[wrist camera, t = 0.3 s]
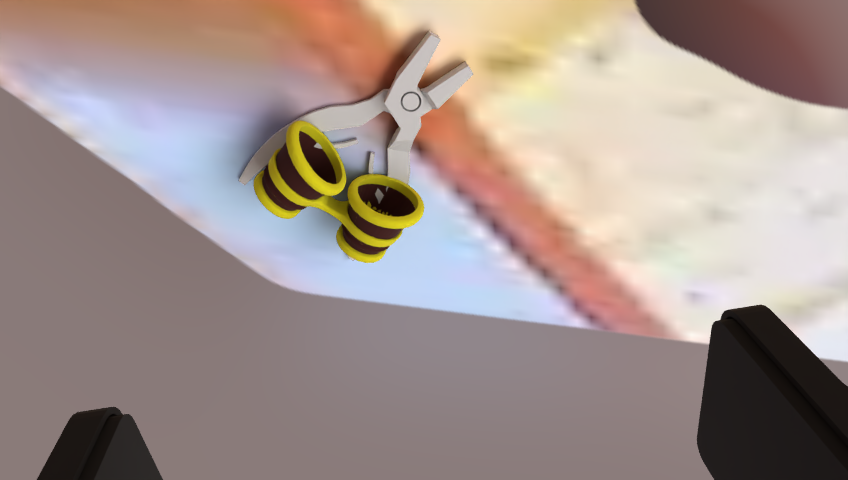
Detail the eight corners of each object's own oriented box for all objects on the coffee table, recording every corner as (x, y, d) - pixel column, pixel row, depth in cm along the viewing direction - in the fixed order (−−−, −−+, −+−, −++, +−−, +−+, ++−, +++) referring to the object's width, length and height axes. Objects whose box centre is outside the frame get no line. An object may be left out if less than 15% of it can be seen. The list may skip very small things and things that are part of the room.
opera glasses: (258, 163, 41) (239, 208, 37) (299, 104, 38) (282, 145, 34) (381, 235, 44) (376, 283, 40) (426, 186, 42) (425, 231, 38)
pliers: (232, 184, 39) (390, -8, 35) (236, 174, 41) (389, -12, 36) (355, 269, 43) (512, 107, 38) (355, 257, 44) (507, 99, 40)
